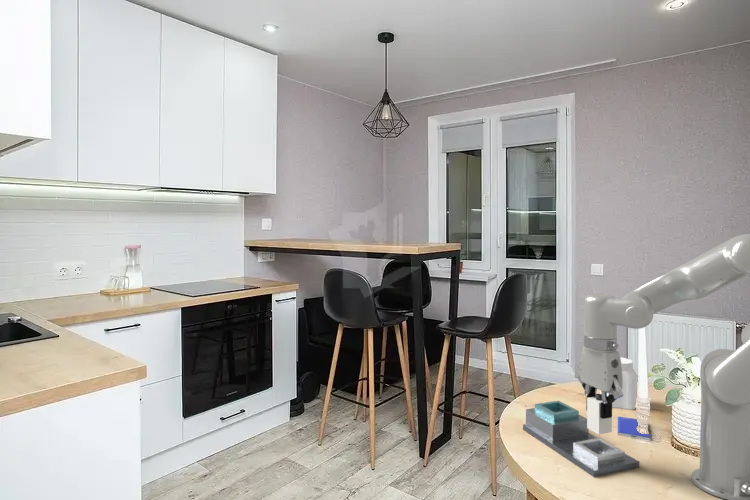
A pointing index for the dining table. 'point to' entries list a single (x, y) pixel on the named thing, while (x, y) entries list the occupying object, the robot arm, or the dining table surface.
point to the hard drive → (630, 428)
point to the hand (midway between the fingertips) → (598, 413)
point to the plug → (597, 416)
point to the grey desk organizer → (575, 439)
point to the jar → (627, 386)
